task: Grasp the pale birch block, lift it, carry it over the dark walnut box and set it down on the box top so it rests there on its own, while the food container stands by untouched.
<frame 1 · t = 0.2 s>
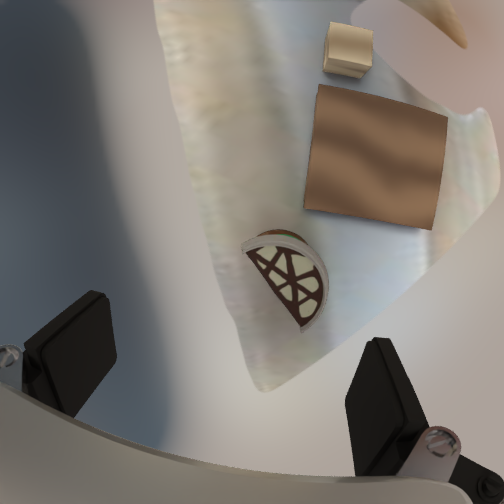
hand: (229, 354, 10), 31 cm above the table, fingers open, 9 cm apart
walnut box: (370, 157, 35), on the table
food container: (295, 251, 41), on the table
birch block: (342, 58, 32), on the table
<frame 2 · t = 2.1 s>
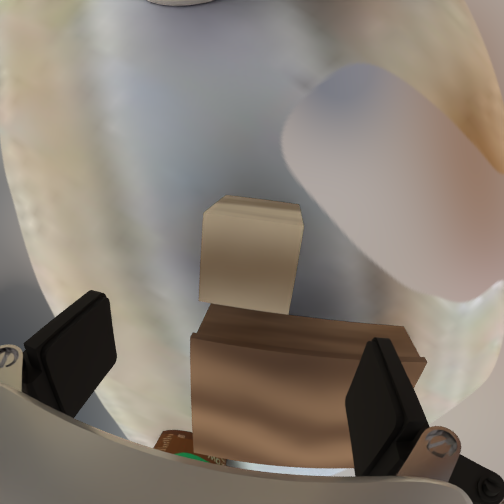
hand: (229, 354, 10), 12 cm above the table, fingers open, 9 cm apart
walnut box: (295, 381, 25), on the table
food container: (206, 446, 31), on the table
birch block: (258, 234, 21), on the table
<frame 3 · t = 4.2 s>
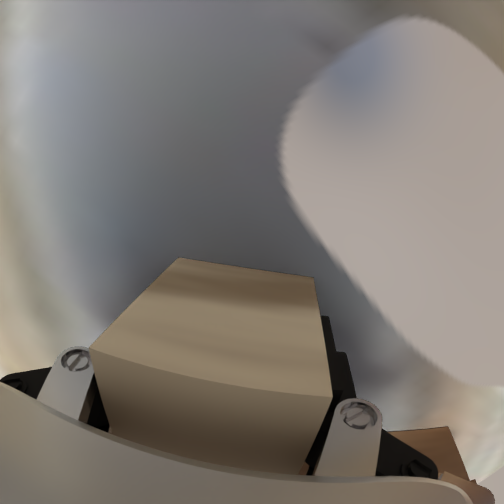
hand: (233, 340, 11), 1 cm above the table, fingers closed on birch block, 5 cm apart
walnut box: (295, 487, 15), on the table
birch block: (237, 326, 12), on the table, touching gripper
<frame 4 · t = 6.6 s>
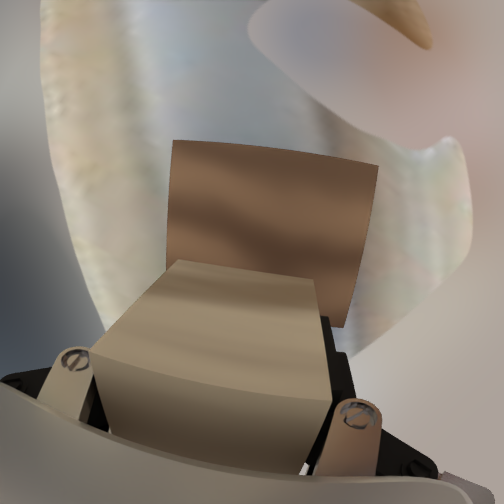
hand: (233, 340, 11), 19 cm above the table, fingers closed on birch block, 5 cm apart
walnut box: (267, 224, 29), on the table
birch block: (237, 328, 12), point 18 cm above the table, touching gripper
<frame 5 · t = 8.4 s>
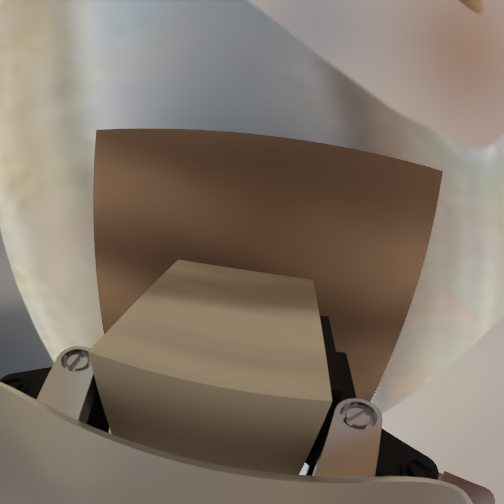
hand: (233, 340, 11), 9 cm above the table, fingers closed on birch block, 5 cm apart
walnut box: (256, 258, 19), on the table
birch block: (237, 328, 12), point 8 cm above the table, touching gripper
when the fingers open (7 cm above the table, at t = 9.5 s): birch block drops 1 cm, resting on walnut box.
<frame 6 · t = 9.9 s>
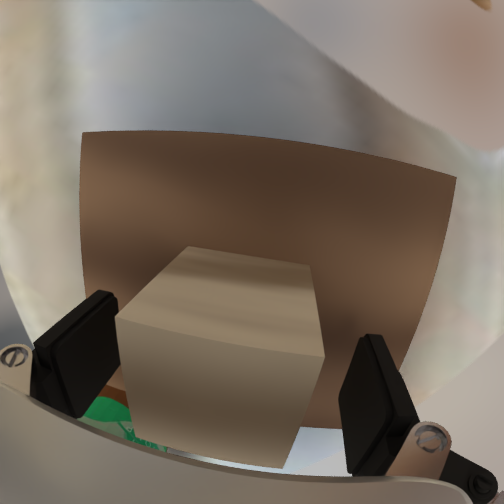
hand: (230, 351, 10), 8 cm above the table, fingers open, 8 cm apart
walnut box: (254, 269, 18), on the table
food container: (146, 400, 23), on the table
birch block: (240, 309, 13), point 5 cm above the table, touching walnut box
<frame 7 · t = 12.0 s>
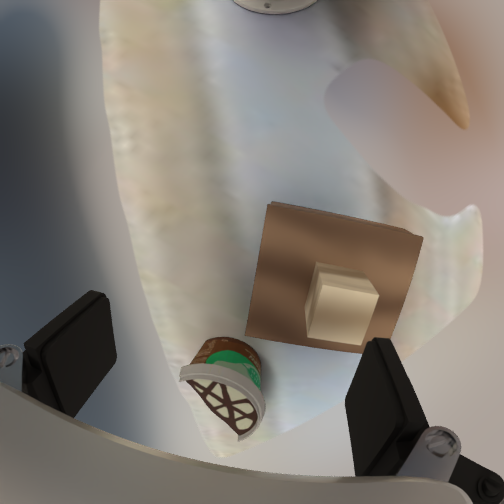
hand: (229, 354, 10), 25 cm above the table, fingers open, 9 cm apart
walnut box: (328, 273, 35), on the table
food container: (244, 356, 40), on the table
birch block: (333, 289, 30), point 5 cm above the table, touching walnut box
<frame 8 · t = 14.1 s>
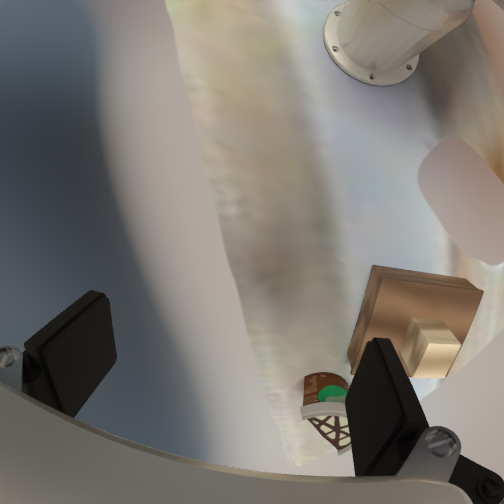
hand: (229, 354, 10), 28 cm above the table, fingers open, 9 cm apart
walnut box: (409, 316, 39), on the table
food container: (335, 385, 44), on the table
birch block: (420, 335, 34), point 5 cm above the table, touching walnut box
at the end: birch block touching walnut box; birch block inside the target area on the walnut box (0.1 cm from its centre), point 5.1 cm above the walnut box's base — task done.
